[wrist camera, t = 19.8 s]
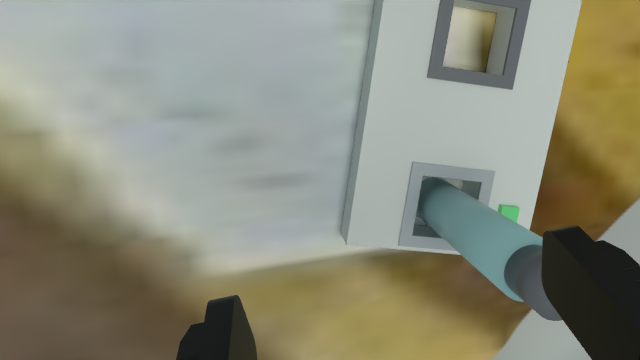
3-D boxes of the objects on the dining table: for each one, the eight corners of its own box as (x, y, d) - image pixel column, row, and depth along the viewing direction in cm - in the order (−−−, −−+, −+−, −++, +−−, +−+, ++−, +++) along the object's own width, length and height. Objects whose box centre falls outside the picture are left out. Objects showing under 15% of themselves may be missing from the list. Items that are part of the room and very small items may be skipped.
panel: (340, 233, 44) (347, 247, 40) (379, -26, 39) (390, -35, 36) (505, 248, 46) (526, 262, 42) (559, 5, 42) (586, -1, 38)
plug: (407, 218, 44) (518, 325, 26) (415, 175, 43) (534, 254, 25) (449, 222, 45) (585, 329, 26) (457, 180, 44) (604, 260, 26)
